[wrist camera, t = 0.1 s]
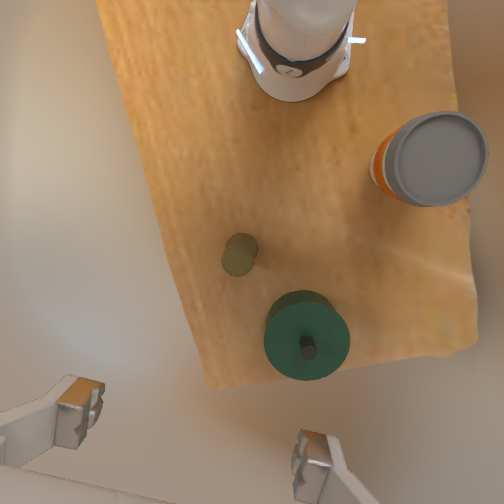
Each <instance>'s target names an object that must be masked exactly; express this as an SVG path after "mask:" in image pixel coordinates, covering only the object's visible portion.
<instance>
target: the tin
mask: <svg viewBox="0 0 504 504" xmlns="http://www.w3.org/2000/svg"><path fill="white" fill-rule="evenodd" d="M303 301H312V302H318V303H322V304H324V305H327V306H329V307H331V308H332V309H334V310H335V308H334V307H333V306H332V304H331V303H330V302H329V301H328V300H327V299H326V298H325V297H323V296H322V295H320V294H318V293H315V292H311V291H305V290H301V291H294V292H290V293H288V294H286V295H284V296H282V297H281V298H279V299H278V300H277V301H276V302H275V303H274V304H273V306H272V307H271V309H270V311H269V313H268V317H267V320H266V321H267V326H268V323H269V322H270V320H271V319H272V318H273V316H274V315H275V314H276V313H277V312H278V311H280V310H281V309H282V308H284V307H286V306H288V305H290V304H293V303H297V302H303ZM335 311H336V310H335Z"/></svg>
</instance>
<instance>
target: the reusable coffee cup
mask: <svg viewBox="0 0 504 504" xmlns="http://www.w3.org/2000/svg"><path fill="white" fill-rule="evenodd" d="M488 158H489V147H488V141H487V138H486V135H485V133H484V132H483V130H482V128H481V127H480V126H479V124H478V123H477V122H476V121H475V120H473V119H472V118H470V117H469V116H467V115H465V114H462V113H460V112H454V111H440V112H434V113H429V114H425V115H421V116H419V117H417V118H414V119H412V120H411V121H409V122H408V123H406V124H405V125H403V126H402V127H400V128H399V129H397V130H396V131H395V132H393V133H392V134H391V135H390V136H388V137H387V138H386V139H385V140H384V141H383V142H382V143H381V145H380V146H379V147H378V148H377V149H376V151H375V152H374V154H373V156H372V158H371V161H370V175H371V177H372V180H373V181H374V183H375V184H376V185H377V186H378V187H380V188H381V189H382V190H383V191H384V192H385V193H387V194H388V195H390V196H392V197H394V198H396V199H398V200H401V201H403V202H406V203H409V204H412V205H414V206H420V207H432V206H444V205H448V204H452V203H454V202H456V201H459V200H461V199H462V198H464V197H465V196H467V195H468V194H469V193H470V192H471V191H472V190H473V189H474V188H475V187H476V186H477V185H478V183H479V182H480V181H481V179H482V177H483V175H484V173H485V171H486V167H487V164H488Z"/></svg>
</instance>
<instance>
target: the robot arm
mask: <svg viewBox="0 0 504 504" xmlns="http://www.w3.org/2000/svg"><path fill="white" fill-rule="evenodd" d="M358 1H359V0H253V2H251V4H250V8H249V12H248V14H247V17H246V19H245V22H244V25H243V27H242V30H241V32H239V30H237V34H238V36H239V37H238V42H237V45H238V49H239V50H240V52H241V53H242V54H243V56H244V57H245V58H246V59H247V60H248V62H249V64H250V67H251V70H252V73H253V75H254V77H255V79H256V81H257V83H258V84H259V86H260V87H261V88H262V89H263V90H264V91H265V92H266V93H267V94H269V95H270V96H272V97H273V98H276V99H278V100H281V101H286V102H298V101H302V100H305V99H308V98H310V97H312V96H314V95H315V94H317V93H318V92H319V91H320V90H321V89H322V88H323V87H324V86H325V85H326V84H328V83H329V82H330V81H332V80H335V79H337V78H339V77H342V76H343V75H345V74H346V73H347V71H348V69H349V65H350V54H351V43H352V42H354V43H364V42H365V39H364V38H352V32H353V22H354V11H355V7H356V5H357V3H358ZM245 35H246V37H245ZM343 59H344V61H343ZM104 392H105V384H104V383H102V382H97V381H94V380H90V379H86V378H82V377H77V376H73V375H70V374H69V375H66V376H65V377H63V378H62V379H61V380H60V381H59V382H58V383H57V384H56V385H55V386H54V387H53V388H52V389H51V390H50V391H49V392H48V393H47V394H46V395H45V396H44V397H43V398H42V399H41V400H39V399H36V400H32V401H30V402H27V403H24V404H21V405H19V406H16V407H13V408H11V409H8V410H5V411H2V412H0V504H174V503H170V502H166V501H161V500H157V499H152V498H147V497H143V496H139V495H135V494H130V493H126V492H121V491H117V490H113V489H108V488H104V487H99V486H95V485H90V484H86V483H82V482H78V481H73V480H69V479H65V478H60V477H56V476H51V475H47V474H43V473H38V472H34V471H29V470H25V469H21V468H20V467H21V466H23V465H24V464H26V463H28V462H29V461H31V460H33V459H34V458H36V457H38V456H39V455H41V454H43V453H44V452H46V451H47V450H49V449H51V448H52V447H53V446H58V447H63V448H68V449H73V450H77V449H78V447H79V446H80V444H81V443H82V441H83V440H84V439H85V437H86V434H87V430H88V429H90V428H92V427H93V426H94V424H95V423H96V421H97V419H98V417H99V415H100V413H101V410H102V405H103V401H102V399H101V396H102V395H103V394H104ZM291 467H292V474H293V475H294V476H295V479H294V482H293V489H294V499H295V501H300V502H303V503H307V504H380V503H379V502H378V501H377V500H376V498H375V497H374V496H373V495H372V494H371V493H370V492H369V491H368V489H367V488H366V487H365V486H364V485H363V484H362V483H361V482H360V481H359V479H358V478H357V477H356V476H355V475H354V474H353V473H352V472H351V471H348V470H347V466H346V463H345V459H344V456H343V452H342V449H341V446H340V443H339V439H338V437H337V436H332V435H328V434H321V433H317V432H312V431H308V430H303V429H301V430H300V431H299V434H298V444H297V445H296V446H295V447H294V450H293V455H292V464H291Z"/></svg>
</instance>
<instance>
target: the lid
mask: <svg viewBox="0 0 504 504" xmlns="http://www.w3.org/2000/svg"><path fill="white" fill-rule="evenodd" d="M264 347H265V352H266V355H267V357H268V359H269V361H270V362H271V364H272V365H273V366H274V367H275V368H276V369H277V370H278V371H279V372H281V373H282V374H284V375H286V376H287V377H290V378H293V379H297V380H304V381H309V380H316V379H320V378H323V377H326V376H328V375H330V374H331V373H333V372H334V371H335V370H337V369H338V368H339V367H340V366H341V364H342V363H343V362H344V360H345V358H346V356H347V354H348V351H349V347H350V334H349V330H348V327H347V325H346V323H345V322H344V320H343V318H342V317H341V316H340V315H339V314H338V313H337V312H336V311H335V310H334V309H332V308H331V307H329V306H327V305H324V304H322V303H318V302H312V301H303V302H297V303H293V304H290V305H288V306H286V307H284V308H282V309H281V310H280V311H278V312H277V313H276V314H275V315H274V316H273V318H272V319H271V320H270V322H269V323H268V326H267V328H266V331H265V336H264Z"/></svg>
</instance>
